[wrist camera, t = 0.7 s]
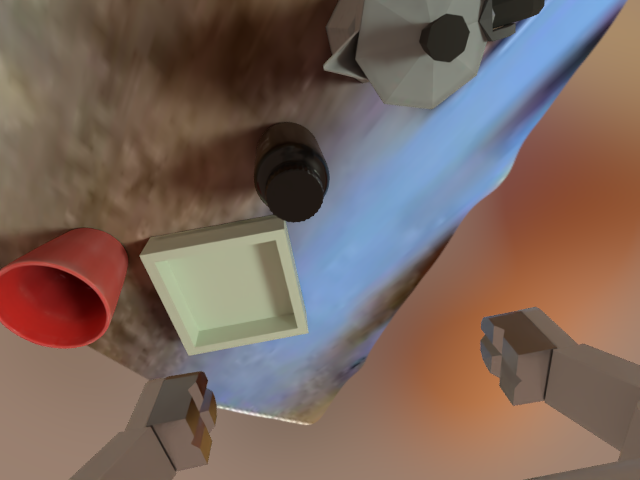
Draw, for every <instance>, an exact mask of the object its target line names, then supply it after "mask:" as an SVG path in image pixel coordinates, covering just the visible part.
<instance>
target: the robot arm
mask: <svg viewBox="0 0 640 480" xmlns="http://www.w3.org/2000/svg"><path fill="white" fill-rule="evenodd" d="M481 329H482V331H483V332H484V333H485V336H484V337H483V338H482V339H481V353H482V357H483V360H484V362H485V365H486V367H487V368H488V370H489V371H490V373H492V374H493V375H495V376H497V377H499V378H500V385H499V386H500V387H501V389H502V390H503V392H504V393H505V395H506V396H507V398H508V399H509V401H510V402H511V403H512V405H514V406H515V405H521V404H527V403H533V402H539V401H545V403H547V404H548V405H550V406H551V407H553V408H554V409H556V410H557V411H559V412H561V413H562V414H563V415H565V416H567V417H568V418H570V419H571V420H573V421H574V422H576V423H578V424H579V425H580V426H582V427H584V428H585V429H587V430H588V431H590V432H592V433H593V434H594V435H596V436H597V437H599V438H600V439H602V440H604V441H605V442H607V443H608V444H610V445H611V446H613V447H614V448H616V449H618V450H619V451H620V452H621V453H620V456H619V459H618V462H613V463H607V464H602V465H597V466H592V467H588V468H582V469H577V470H571V471H566V472H562V473H556V474H551V475H546V476H540V477H535V478H531V479H525V480H640V365H638V364H635V363H632V362H630V361H627V360H625V359H622V358H620V357H617V356H614V355H612V354H609V353H606V352H604V351H602V350H599V349H596V348H594V347H591V346H589V345H586V344H580V345H578V344H577V343H576V342H575V341H574V340H573V339H572V338H571V337H570V336H569V335H568V334H566V333H565V332H564V331H563V330H562V329H561V328H560V327H559V326H558V325H557V324H556V323H555V322H554V321H552V320H551V319H550V318H549V317H548V316H547V315H546V314H545V313H544V312H543V311H542V310H540V309H539V308H537V307H533V308H528V309H523V310H518V311H514V312H509V313H504V314H499V315H494V316H489V317H484V318H483V320H482V322H481ZM207 383H208V379H207V377H206V375H205V373H204V372H202V371H199V372H193V373H187V374H181V375H175V376H169V377H166V378H159V379H153V380H149V381H148V382H147V383H146V384H145V386H144V389H143V391H142V393H141V395H140V398H139V400H138V402H137V404H136V407H135V409H134V411H133V413H132V415H131V418H130V420H129V422H128V424H127V427H126V429H125V431H124V432H119V433H118V434H117V435H116V436H115V437H114V438H113V439H111V440H110V442H108V443H107V444H106V445H105V446H104V447H103V448H102V449H101V450H100V451H99V452H98V453H97V454H95V456H93V457H92V458H91V459H90V460H89V461H88V462H87V463H86V464H85V465H84V466H83V467H82V468H81V469H80V470H78V471H77V472H76V473H75V475H73V476H72V477H71V478H70V479H69V480H172V479H173V477H174V476H175V475H176V471H180V470H185V469H189V468H194V467H198V466H203V465H207V464H208V460H209V455H210V450H211V445H212V439H211V437H210V435H209V433H210V432H211V430H212V429H213V428H214V427H215V424H216V418H217V405H216V400H215V396H214V394H213V392H212V391H211V390H209V389H207V388H206V387H207Z"/></svg>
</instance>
